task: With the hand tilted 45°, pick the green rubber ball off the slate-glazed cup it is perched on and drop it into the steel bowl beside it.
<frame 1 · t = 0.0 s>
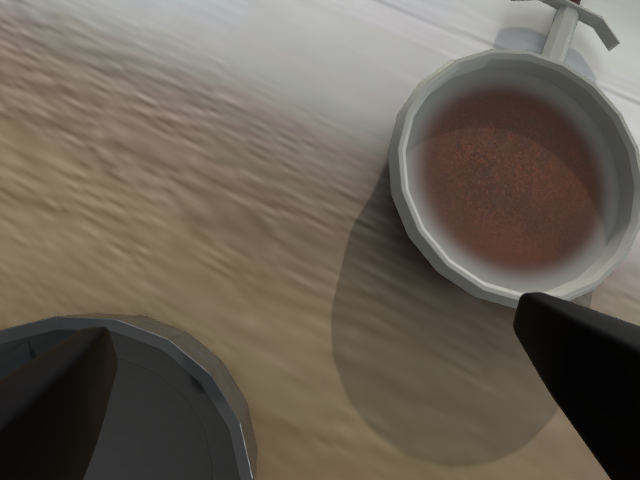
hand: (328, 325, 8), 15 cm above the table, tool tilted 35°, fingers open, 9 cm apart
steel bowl: (103, 467, 20), on the table
frying pan: (523, 116, 27), on the table
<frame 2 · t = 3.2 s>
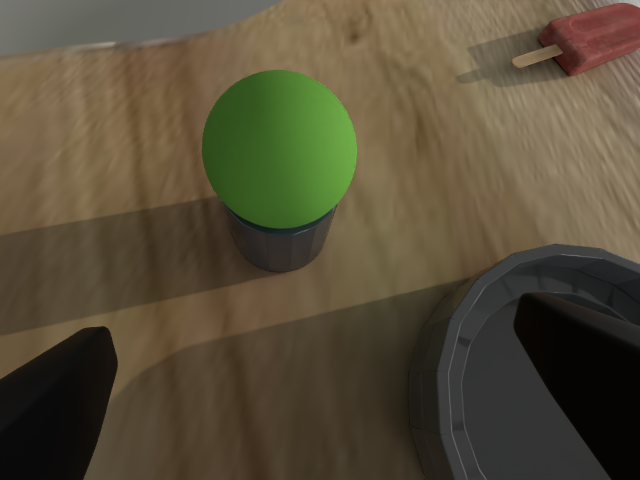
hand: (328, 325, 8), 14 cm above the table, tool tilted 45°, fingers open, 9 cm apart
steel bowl: (546, 408, 21), on the table
ball: (281, 152, 16), point 8 cm above the table, touching stand cup
popsicle: (572, 51, 32), on the table
stand cup: (280, 227, 24), on the table
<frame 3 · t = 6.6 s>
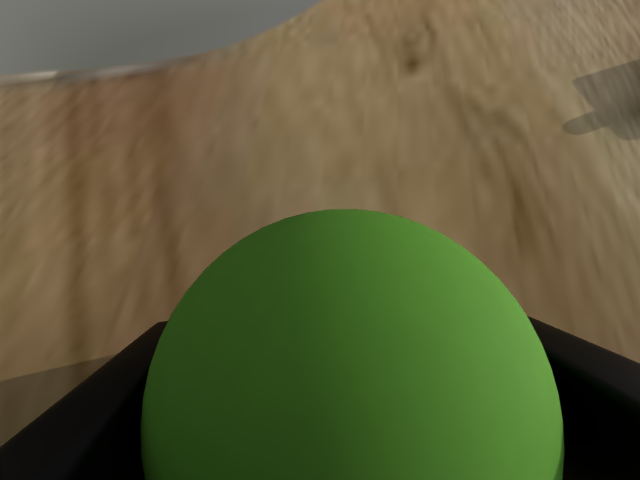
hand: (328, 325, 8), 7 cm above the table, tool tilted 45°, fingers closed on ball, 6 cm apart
ball: (344, 394, 7), point 8 cm above the table, touching gripper, stand cup
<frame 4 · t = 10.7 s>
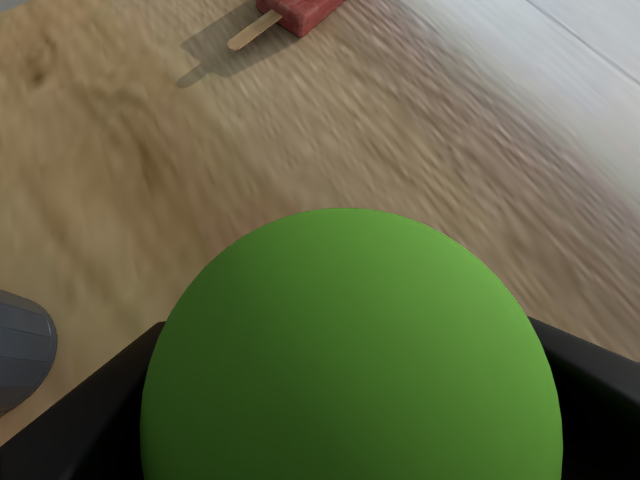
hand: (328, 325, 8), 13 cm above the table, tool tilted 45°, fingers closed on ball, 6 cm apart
ball: (343, 392, 7), point 14 cm above the table, touching gripper
popsicle: (299, 9, 30), on the table
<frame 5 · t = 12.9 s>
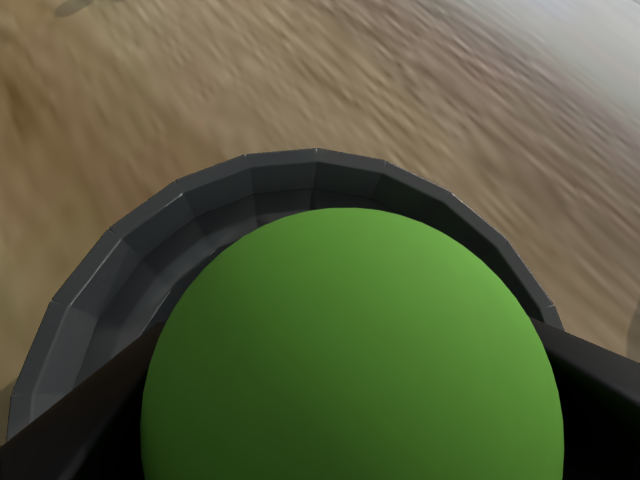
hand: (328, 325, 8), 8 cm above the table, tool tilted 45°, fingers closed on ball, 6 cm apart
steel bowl: (308, 389, 15), on the table
ball: (344, 392, 7), point 9 cm above the table, touching gripper
when the fingers open (3 cm above the table, at t = 15.0 s): ball stays where it is, resting on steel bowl.
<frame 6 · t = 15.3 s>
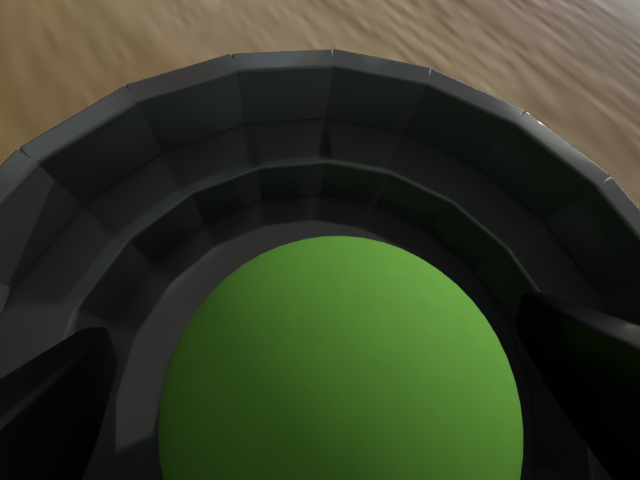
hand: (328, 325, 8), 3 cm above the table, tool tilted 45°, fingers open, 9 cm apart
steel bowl: (319, 393, 11), on the table
ball: (336, 400, 7), point 4 cm above the table, touching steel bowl
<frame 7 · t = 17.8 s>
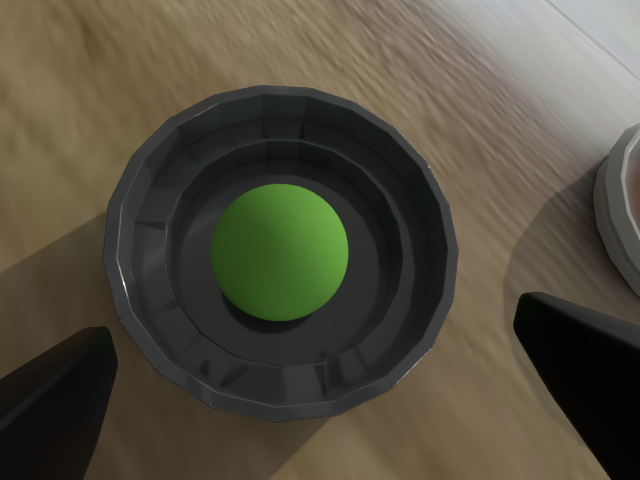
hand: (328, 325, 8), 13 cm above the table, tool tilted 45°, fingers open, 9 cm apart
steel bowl: (286, 256, 22), on the table
ball: (280, 252, 18), point 4 cm above the table, tilted 19°, touching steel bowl
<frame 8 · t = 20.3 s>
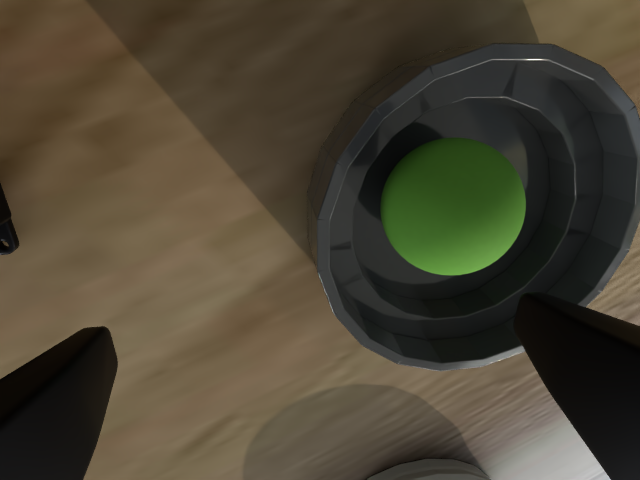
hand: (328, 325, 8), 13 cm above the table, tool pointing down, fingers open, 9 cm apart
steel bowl: (445, 205, 22), on the table
ball: (448, 207, 18), point 4 cm above the table, tilted 38°, touching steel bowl
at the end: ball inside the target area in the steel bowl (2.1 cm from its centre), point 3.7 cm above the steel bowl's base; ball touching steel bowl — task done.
